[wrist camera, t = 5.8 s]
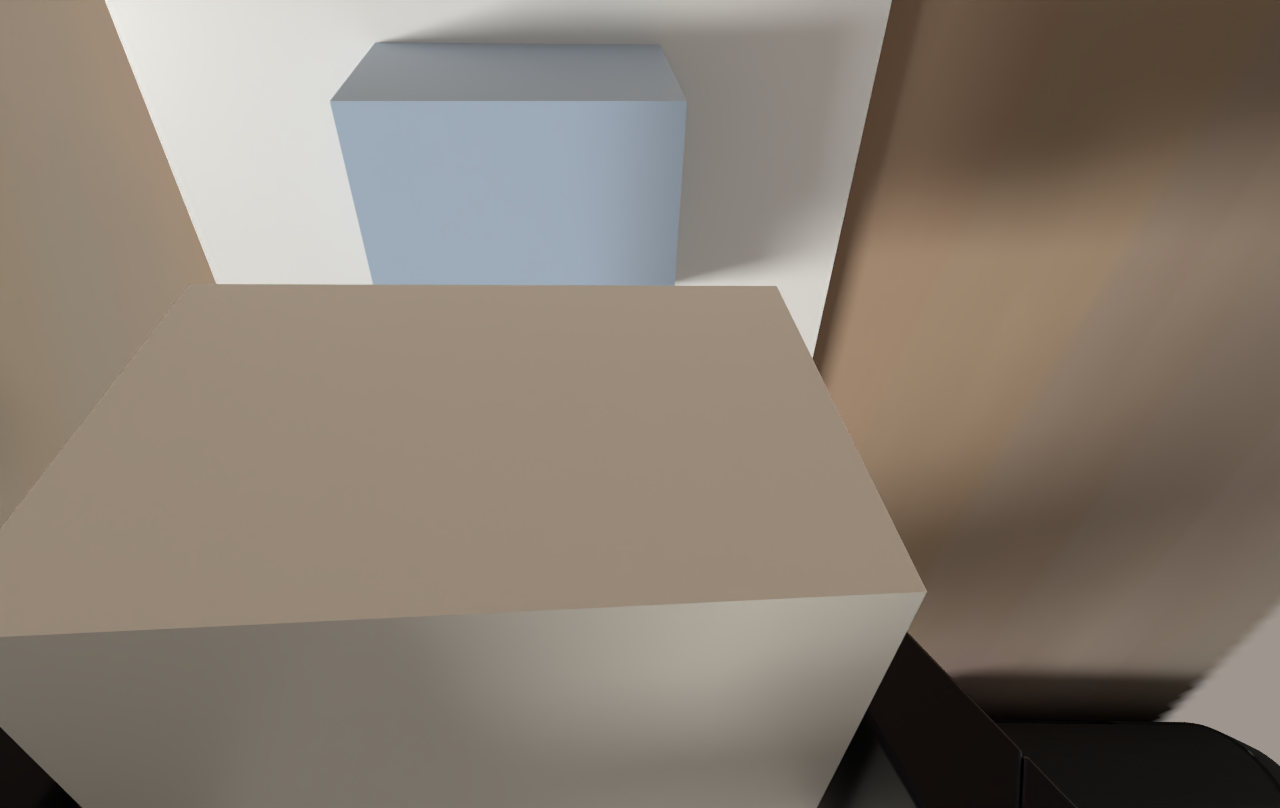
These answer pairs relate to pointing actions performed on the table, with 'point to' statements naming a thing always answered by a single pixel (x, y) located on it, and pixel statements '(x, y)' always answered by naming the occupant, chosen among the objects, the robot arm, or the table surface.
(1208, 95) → the table surface
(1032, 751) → the portable speaker
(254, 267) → the base plate
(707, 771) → the middle block
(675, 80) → the base block
